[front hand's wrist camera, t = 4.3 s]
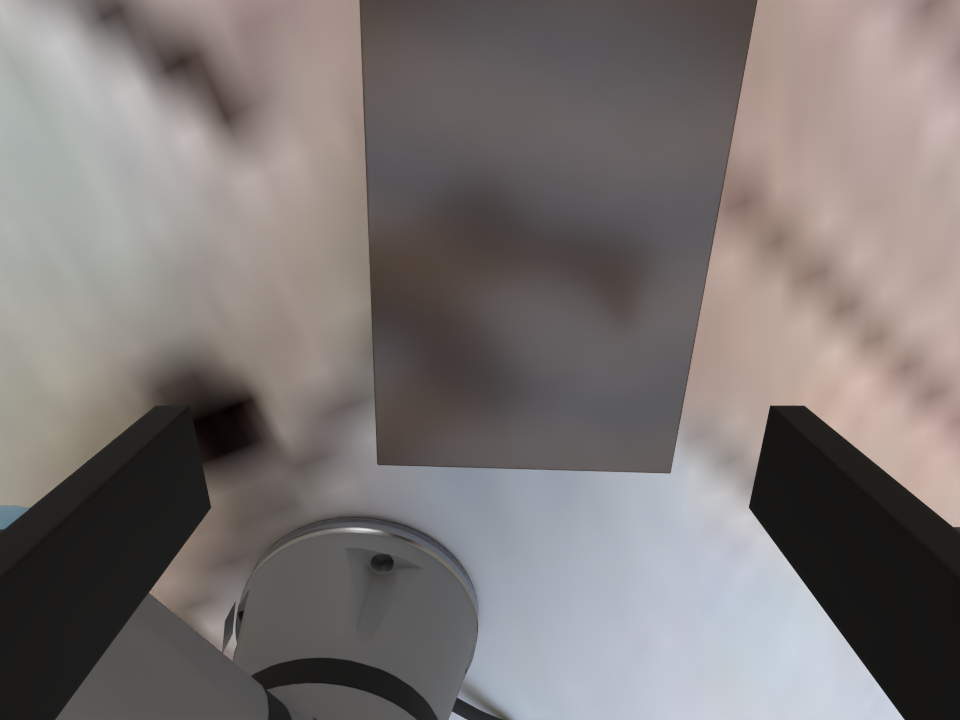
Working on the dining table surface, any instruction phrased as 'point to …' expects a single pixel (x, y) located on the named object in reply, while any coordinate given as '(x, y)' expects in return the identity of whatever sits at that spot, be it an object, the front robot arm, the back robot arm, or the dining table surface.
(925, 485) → the dining table surface
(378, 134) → the brown-grey rectangular block
